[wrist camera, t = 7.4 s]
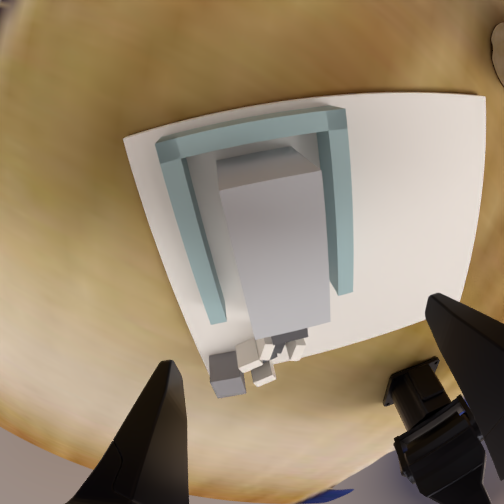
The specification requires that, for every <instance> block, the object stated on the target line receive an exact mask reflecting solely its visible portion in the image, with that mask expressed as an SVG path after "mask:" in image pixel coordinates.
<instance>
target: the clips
mask: <svg viewBox="0 0 504 504" xmlns="http://www.w3.org/2000/svg"><path fill="white" fill-rule="evenodd" d="M285 345H286V349H287V352H288V356H289V359H290V361H299V360H300V358H301V356H302V354H303V351H304V349H305V347H306V343H305V341H304V338H302V339H298V340H294V341H290V342H286V343H285ZM235 347H236V355H237V363H238V369H239V370H240V371H241V372H242V373H245V372H247V371H250V370H251V373H252V379H253V383H254V384H255V385H256V386H257V387H259V386H261V385H264V384H266V383H269V382H271V381H273V380H276V375H275V370H274V366H273V362H272V360H270V358H271V355H272V352H273V350H274V347H275V345H273V343H272V339H271V337H266V338H262V339H257V340H255V338H252V339H249V340H247V341H245V342H243V343H241V344H239V345H236V346H235ZM262 360H270V361H267V362H265V363H263V361H262Z"/></svg>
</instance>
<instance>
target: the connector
mask: <svg viewBox="0 0 504 504" xmlns="http://www.w3.org/2000/svg"><path fill="white" fill-rule="evenodd" d="M216 165H217V176H218V187H219V193H220V198H221V202H222V206H223V211H224V215H225V219H226V223H227V228H228V232H229V236H230V240H231V244H232V249H233V253H234V257H235V261H236V265H237V269H238V273H239V277H240V282H241V286H242V290H243V294H244V298H245V302H246V306H247V310H248V314H249V318H250V322H251V326H252V330H253V334H254V338H255V340H257V339H262V338H266V337H271V339H272V343H273V345H277V344H281V343H286V342H290V341H294V340H298V339H302V338H306V337H308V328H309V327H313V326H316V325H320V324H324V323H328V322H330V285H329V261H328V243H327V228H326V214H325V201H324V190H323V179H322V170H320V169H319V168H318V167H317V166H315V165H314V164H313V163H312V162H310V161H309V160H308V159H307V158H305V157H304V156H303V155H302V154H300V153H299V152H298V151H296V150H295V149H294V148H293V147H291V146H288V147H282V148H276V149H271V150H265V151H260V152H255V153H250V154H245V155H240V156H235V157H230V158H226V159H221V160H216Z"/></svg>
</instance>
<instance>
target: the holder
mask: <svg viewBox="0 0 504 504" xmlns="http://www.w3.org/2000/svg"><path fill="white" fill-rule="evenodd" d="M309 133H316V134H317V142H318V151H319V160H320V170H322V179H323V190H324V201H325V214H326V228H327V243H328V261H329V280H330V282H331V284H332V286H333V287H334V289H335V291H336V293H337V295H338V296H340V295H344V294H348V293H351V292H353V265H354V244H353V202H352V181H351V165H350V151H349V139H348V128H347V118H346V109H345V108H340V107H335V106H321V107H312V108H304V109H297V110H289V111H282V112H276V113H269V114H263V115H258V116H252V117H246V118H241V119H236V120H231V121H226V122H221V123H216V124H212V125H207V126H203V127H199V128H194V129H190V130H186V131H182V132H178V133H174V134H171V135H167V136H163V137H161V138H160V139H159V140H158V141H157V142H156V143H155V147H156V151H157V155H158V158H159V162H160V166H161V169H162V173H163V177H164V180H165V184H166V187H167V191H168V194H169V198H170V201H171V204H172V208H173V211H174V215H175V218H176V221H177V224H178V228H179V231H180V234H181V237H182V241H183V244H184V247H185V250H186V253H187V256H188V259H189V262H190V266H191V269H192V272H193V275H194V278H195V281H196V284H197V287H198V289H199V292H200V295H201V298H202V301H203V304H204V307H205V310H206V313H207V315H208V318H209V321H210V324H211V325H213V324H218V323H223V322H227V318H226V307H225V300H224V296H223V293H222V290H221V286H220V283H219V279H218V276H217V272H216V269H215V265H214V262H213V258H212V255H211V251H210V247H209V244H208V240H207V237H206V233H205V229H204V225H203V222H202V218H201V214H200V211H199V207H198V203H197V199H196V195H195V191H194V188H193V184H192V180H191V176H190V172H189V168H188V164H187V160H186V157H190V156H194V155H198V154H202V153H207V152H211V151H216V150H220V149H225V148H230V147H234V146H239V145H244V144H249V143H255V142H260V141H266V140H271V139H277V138H283V137H289V136H295V135H302V134H309Z"/></svg>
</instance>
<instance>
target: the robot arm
mask: <svg viewBox="0 0 504 504" xmlns="http://www.w3.org/2000/svg"><path fill="white" fill-rule="evenodd" d="M425 318H426V320H427V322H428V325H429V327H430V329H431V331H432V333H433V336H434V338H435V340H436V343H437V345H438V347H439V349H440V352H441V353H442V355H443V357H444V359H445V361H446V363H447V365H448V366H449V368H450V370H451V372H452V374H453V376H454V378H455V380H456V381H457V383H458V385H459V387H460V389H461V391H462V393H463V395H464V397H465V399H466V401H467V403H468V405H469V407H468V405H467V404H466V402H465V401H464V399H463V397H462V396H461V394H460V395H459V396H457V398H456V399H454V400H453V401H452V402H451V400H450V399H449V397H448V395H447V394H446V392H445V390H444V388H443V386H442V384H441V383H440V381H439V379H438V378H437V376H436V374H435V371H436V369H437V366H438V364H439V361H440V360H439V359H438V357H436V358H434V359H431V360H429V361H427V362H424V363H422V364H419V365H417V366H414V367H412V368H409V369H407V370H404V371H402V372H399V373H396V374H394V375H392V376H391V377H390V380H389V384H388V387H387V391H386V394H385V398H384V401H383V405H384V406H389V405H391V404H394V405H395V407H396V409H397V411H398V413H399V415H400V417H401V419H402V421H403V423H404V425H405V428H406V430H407V432H405V433H403V434H402V435H400V436H397V437H395V438H394V441H395V442H394V447H395V449H396V451H397V454H398V458H399V464H400V470H401V474H402V476H404V477H407V478H408V479H409V480H410V482H411V483H412V484H415V483H416V485H417V487H418V489H419V491H420V493H421V494H423V495H424V496H426V497H429V498H431V499H432V500H434V501H436V502H438V503H440V504H492V503H491V500H490V498H489V496H488V494H487V491H486V489H485V487H484V485H483V480H484V474H485V466H486V453H485V450H484V448H483V446H482V444H481V441H483V440H484V441H485V443H486V445H487V448H488V450H489V453H490V455H491V457H492V460H493V462H494V465H495V468H496V470H497V473H498V476H499V478H500V480H501V481H502V480H503V479H504V324H503V323H501V322H499V321H497V320H495V319H493V318H491V317H489V316H487V315H485V314H483V313H481V312H479V311H477V310H475V309H473V308H471V307H469V306H467V305H464V304H462V303H460V302H458V301H456V300H454V299H452V298H450V297H448V296H446V295H444V294H441V293H435V294H432V295H430V296H429V297H428V300H427V305H426V309H425ZM462 411H464V413H463V414H462V415H461V416H460V415H459V414H460V413H461V412H462ZM113 440H114V441H112V442H111V444H110V446H109V447H108V449H107V451H106V452H105V454H104V455H103V457H102V459H101V460H100V462H99V463H98V465H97V466H96V467H95V469H94V470H93V472H92V473H91V474H90V476H89V477H88V478H87V480H86V481H85V482H84V483H83V485H82V486H81V487H80V489H79V490H78V491H77V493H76V494H75V495H74V496H73V498H71V499H70V500H69V501H68V502H67V503H65V504H189V491H188V456H187V415H186V406H185V398H184V389H183V380H182V376H181V373H180V372H179V370H178V368H177V366H176V364H175V363H174V361H173V360H165V361H161V362H160V363H159V364H158V366H157V368H156V369H155V371H154V373H153V374H152V376H151V378H150V379H149V381H148V382H147V384H146V386H145V387H144V389H143V391H142V392H141V394H140V396H139V397H138V399H137V401H136V402H135V404H134V406H133V407H132V409H131V411H130V412H129V414H128V416H127V417H126V419H125V421H124V422H123V424H122V426H121V427H120V429H119V431H118V432H117V434H116V436H115V437H114V439H113Z"/></svg>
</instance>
